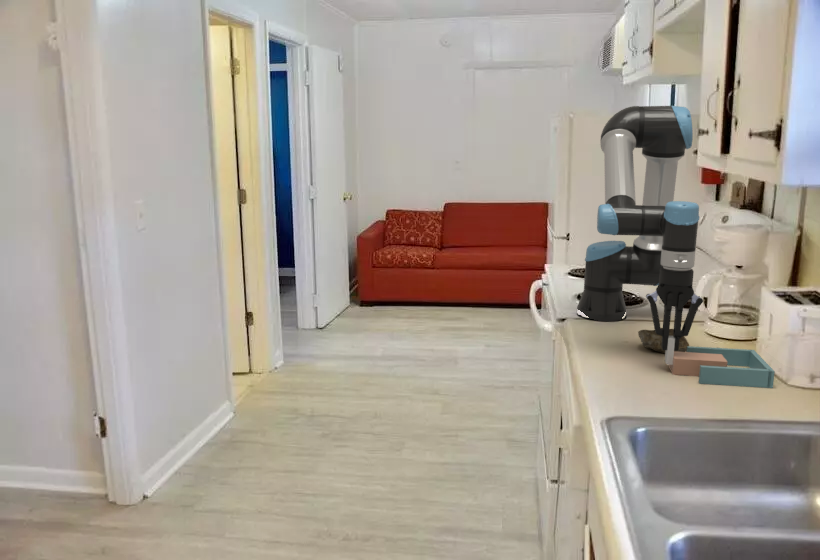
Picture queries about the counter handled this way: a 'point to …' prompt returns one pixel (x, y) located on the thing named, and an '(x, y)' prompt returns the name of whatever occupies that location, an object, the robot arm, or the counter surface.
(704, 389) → the counter surface
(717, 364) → the tile
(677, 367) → the tile
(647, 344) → the stone
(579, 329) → the counter surface
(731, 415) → the counter surface
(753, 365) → the tray
